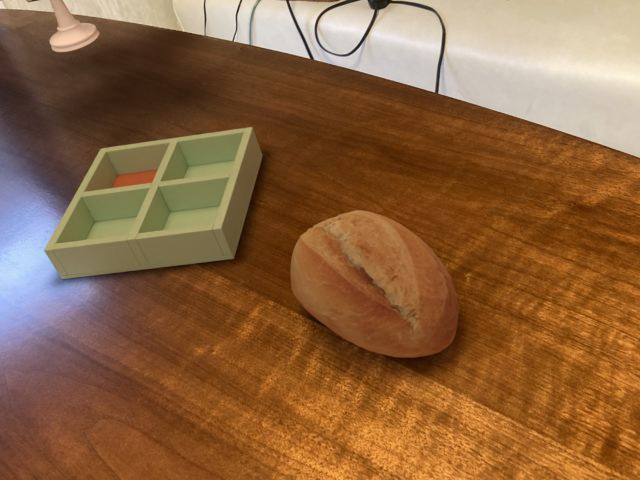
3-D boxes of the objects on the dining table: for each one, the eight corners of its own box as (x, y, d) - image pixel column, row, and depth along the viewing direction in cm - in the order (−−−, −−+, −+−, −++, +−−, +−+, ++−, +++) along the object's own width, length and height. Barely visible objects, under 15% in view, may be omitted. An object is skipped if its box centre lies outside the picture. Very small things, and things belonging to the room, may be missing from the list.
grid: (61, 279, 69) (43, 250, 66) (114, 176, 80) (100, 148, 78) (234, 259, 66) (221, 228, 64) (262, 155, 78) (252, 126, 76)
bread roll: (397, 406, 52) (374, 323, 46) (270, 310, 61) (238, 231, 55) (494, 324, 55) (483, 238, 50) (361, 245, 65) (340, 166, 59)
